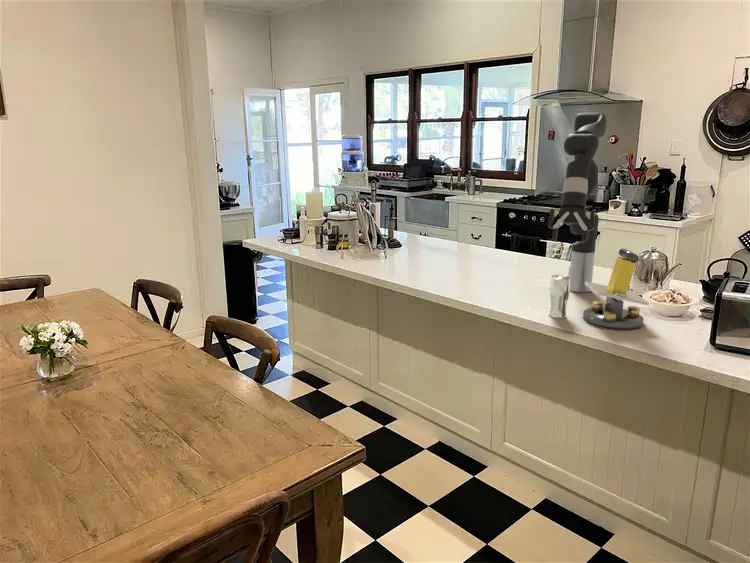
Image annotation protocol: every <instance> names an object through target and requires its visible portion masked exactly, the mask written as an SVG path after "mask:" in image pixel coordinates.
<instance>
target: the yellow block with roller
mask: <svg viewBox="0 0 750 563" xmlns="http://www.w3.org/2000/svg"><path fill="white" fill-rule="evenodd" d="M618 255H619V256H617V257H616V259H615V263H614V266H613V268H612V272H611V276H610V278H609V281H608V284H607V285H604V284H599V283H594V282H592V283H591V282H586V281H585V285H586V286H588V287H589V288H590V289H591V292H594V293H595V294H596V295H597V296H602V297H610V298H615V299H620V300H622V301H625V302H628V303H629V302H630V303H634V304H639V305H645V306H649V305H650V302H649V301H648V300H646V299H645V298H643V297H642V296H640V295H639V294H637V293H636V292H634V291H633V290H629V287H630V284H631V281H632V278H633V276H634V273H635V269H636V266H637V264H638V262H639V259H640V257H639V255H638V254H636V253H635V252H633V251H630V250H629V249H627V248H624V247H623V248H621V249H619V250H618Z"/></svg>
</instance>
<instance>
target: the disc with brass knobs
mask: <svg viewBox="0 0 750 563" xmlns="http://www.w3.org/2000/svg"><path fill="white" fill-rule="evenodd" d="M640 312H641V308H640V307H639V306H635V305H634V306H633V305H630V306H627V309H624V300H620V299H615V298H610V297H606V298H605V302H604V301H601V300H593V301H592V303H591V307H590V308H586V309H585V310H584V311H583V315H582V319H584V320H583V321H584V322H585V321H586V322H585V323H587V324H588V325H591V326H593V325H594V326H593V327H596V326H597V328H600V327H601V329H604V328H606V330H610V329H613V331H623V330H624V331H635V330H638V329H641V328H642V327H643V326H644V319H645V318H644V317H643V315H641V314H640Z"/></svg>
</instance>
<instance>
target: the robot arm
mask: <svg viewBox="0 0 750 563" xmlns="http://www.w3.org/2000/svg"><path fill="white" fill-rule="evenodd" d="M606 128H607V116H606V115H605V113H604V112H598V111H597V112H579V113H577V114H576V116H575V119H574V127H573V132H571V133H570V134H568V135H567V137H566V138H565V140H564V143H563V150H564V152H565V154H567V155H568V156H572V157H573V158H574V159H573V161H569V162H568V164H567V165H566V172H565V173H566V174H565V180H564V185H563V189H562V196H561V203H560V204H561V205H560V209H559V210H557V209H554V208H551V209H550V211H549V215H548V219H547V220H548V221H547V227H548V228H549V229H552V235H551V238H552V240H553V242H557V241H558V240H557V239H558V233H559V230H558V229H559V228H560V227H561V226H563V225H564V224H566V225H569V227H570V228H569V230H570V233H571V234H573V235H576V236H577V235H581V240H580V241H576V242H574V243H572V245H571V254H570V255H571V256H570V266H569V267H568V275H567V276H569V277H570V292H575V293H583V294H584V293H590V292H592V290H591V289H590V288H589V287H588V286H586V285H585V281H586V282H591V283H593V274H594V265H595V255H596V254H595V253H596V243H597V234H598V227H599V222H600V221H599V219H600V218H599V215H598V213H595V211H594V210H591V211H586V206H587V205H586V204H587V199H588V198H589V197H590V196H591V194H592V193H593V192H594V191H595V190H596V188H597V185H598V179H599V168H598V165H597V163H596V161H595V160H594V157H595V155H596V153H597V151H598V148H599V143H600V142H599V139H600V138H601V137H603V136H604V135H605V132H606V130H607V129H606ZM557 215H559V217H560V218H559V219H557V221H556V223H555V224H554V219H555V217H557Z"/></svg>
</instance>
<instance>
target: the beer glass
mask: <svg viewBox="0 0 750 563" xmlns="http://www.w3.org/2000/svg"><path fill="white" fill-rule="evenodd" d="M570 292H571V290H570V277H569V276H568V275H563V274H554V275H551V277H550V285H549V298H550V310H549V313H548V316H549V317H550V318H553V319H558V320H559V319H560V320H561V319H565V317H566V318H567V311H566V310H567V309H566V308H567V304H568V300H569V297H570V296H569V295H570Z"/></svg>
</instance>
